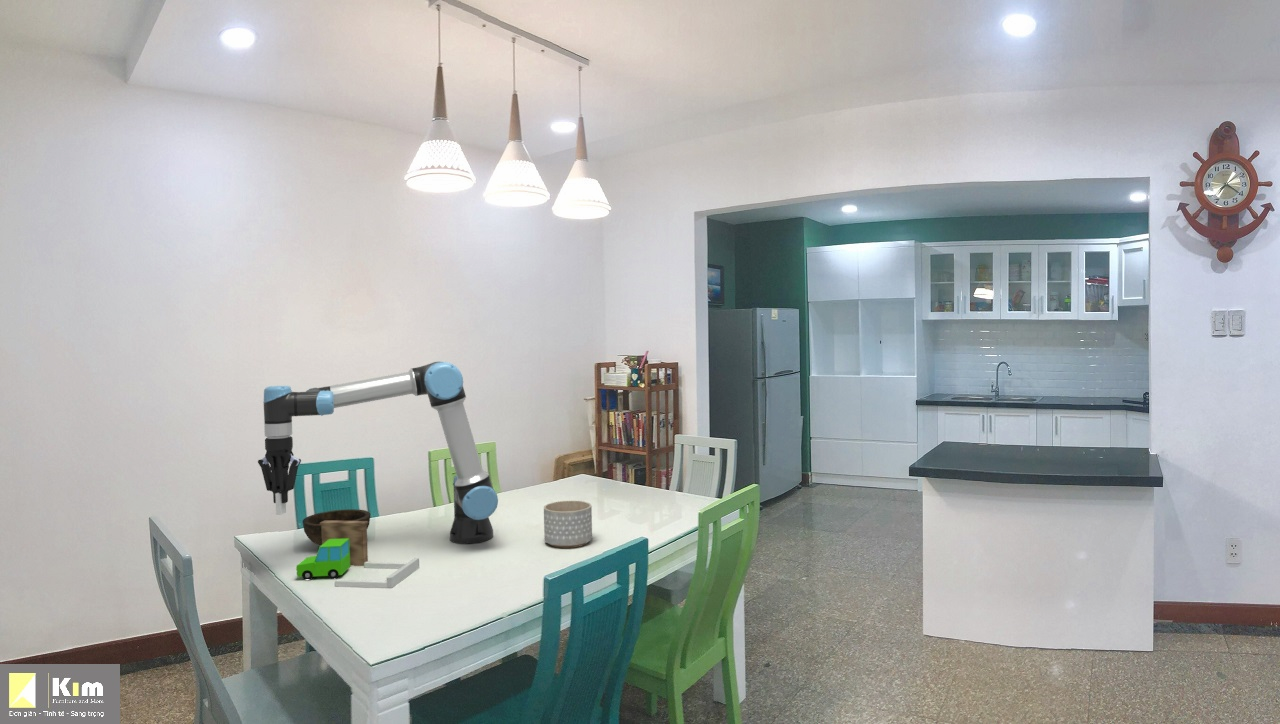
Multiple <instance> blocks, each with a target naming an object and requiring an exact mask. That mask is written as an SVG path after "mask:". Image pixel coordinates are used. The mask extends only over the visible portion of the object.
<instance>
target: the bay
mask: <svg viewBox="0 0 1280 724" xmlns="http://www.w3.org/2000/svg"><path fill="white" fill-rule="evenodd" d="M363 568H364V569H389V570H390V569H391V570H393V569H396V570H395V571H394V572H392V573H391V574H390V575H388V576H387V577H386V580H367V579H336V580H334V587H340V588H341V587H343V588H372V589H373V588H375V589H376V588H379V589H393V588H395V586H397V585H398V584H400V583H401V582H402V581H403V580H405V579H406V578H407V577H409V576H410V575H412V574H413V573H414V572H416V571H417V570H418V569H419V568H420V558H419V557H414V558H412V559H411V560H410V561H408V562H402V561H401V562H400V561H399V562H397V561H396V562H395V561H394V562H393V561H368V562H365V563H364V566H363Z"/></svg>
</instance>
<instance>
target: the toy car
mask: <svg viewBox="0 0 1280 724" xmlns="http://www.w3.org/2000/svg"><path fill="white" fill-rule="evenodd" d="M318 547H319V548H318V551H317V553H316V555H313V556H308V557H306V558H305V559H302V561H300V562H299V563H298V564H297V565H296V567H295V569H296V576H297V578H301V577H302V579H303V580H304V579H310V580H312V579H313V578H314V577H328V578H329V579H330V580H335V579H334V578H336V579H337V578H338V577H339V576H342V575H343V574H344V573H345V572H346V571H347V570H348V569H349V568H350V567H351V566H350V543H349V538H345V539H329V540H327V541H326V542H325V543H324V544H322V545H321V546H320V545H319V546H318ZM311 578H312V579H311Z"/></svg>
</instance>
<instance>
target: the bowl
mask: <svg viewBox="0 0 1280 724" xmlns="http://www.w3.org/2000/svg"><path fill="white" fill-rule="evenodd" d="M324 520H332V521H368V524H367V530H368V528H369V526H370V523H371V522H370V521H371V512H369V511H368V510H363V509H350V508H349V509H336V510H328V511H322V512H319V513H313V514H311V515H309V516H306V517H304V518H303V520H302V525H303V526H302V527H303V532H304V533H305V536H306V538H308V540H310V542H312V543H314V544H316V545H317V546H319V547H320V546H321V545H322V531H321V525H320V522H322V521H324Z"/></svg>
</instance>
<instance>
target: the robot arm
mask: <svg viewBox="0 0 1280 724" xmlns="http://www.w3.org/2000/svg"><path fill="white" fill-rule="evenodd" d="M407 395H414V396H416V397H418V396H422V395H423V396H425V395H427V397H428V400H429V404H430V407H431V408H432V409H434V410H436V411H437V414H438V418H439V420H440V424H441V427H442V430H443V434H444V436H445V440H446V444H447V447H448V450H449V454H450V457H451V460H452V463H453V464H452V465H453V467H454V470H455V474H456V475H455V476H454V477H453V479H452V480H453V482H452V486H453V511H454V515H453V517H454V518H453V520H452V521H453V522H452V525H451V527H450V531H449V541H451V542H452V543H456V544H475V543H477V544H478V543H481V542H486V541H489V540H490V539H493V537H494V528H493V525H492V523H491V520H490V516H492V515H493V514H495V512H496V510H497V507H498V503H499V499H498V494H497V492H496V490H494V488H493V485H492V484H493V483H492V481H491V477H490V474H489V473H488V472H486V471H485V470H484V469H483V466H482V463H481V460H480V457H479V453H478V450H477V446H476V442H475V440H474V436H473V435H474V434H473V433H472V429H471V426H470V422H469V418H468V415H467V413H466V409H465V408H466V407H465V404H464V402H465V400H466V398H467V394H466V392H465V388H464V376H463V374H462V373H461V370H460V369H459V368H458V367H457V366H456V365H454V364H452V363H450V362H448V361H433V362H430V363H428V364H425V365H421V366H417V367H413V368H410V369H409V370H408V371H406V372H401V373H394V374H390V375H389V374H388V375H383V376H378V377H373V378H367V379H361V380H355V381H350V382H344V383H340V384H338V383H337V384H333V385H329V386H322V387H313V388H309V389H307V390H306V391H293V390H292V388H291V386H290V385H271V386H267V387H265V388H264V389H263V418H264V419H263V422H264V423H263V424H264V437H266V438H265V439H264V449H265V450H266V453H265V455H264V457H262V459H258V460H257V463H258V465H259V467H260V469H261V472H262V477H263V480H264V484H265V488H266V491H268V492H272V495H273V497H272V498H273V499H272V500H273V503H274V504H275V515H277V516H278V515H279V516H281V515H284V514H286V513H287V503H288V502H289V496H288V495H289V491H292V490H294V489H295V485H296V479H297V474H298V469H299V465H300V464H301V463H302V459H301V458H296V457H295V456H294V452H293V447H294V446H293V445H294V442H293V437H292V435H293V417H307V416H309V417H311V416H312V417H313V416H321V417H322V416H328V415H332V414H334V411H335V409H337V408H341V407H342V408H343V407H348V406H354V405H358V404H364V403H365V404H366V403H369V402H374V401H375V402H376V401H381V400H385V399H390V398H396V397H403V396H407Z"/></svg>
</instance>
